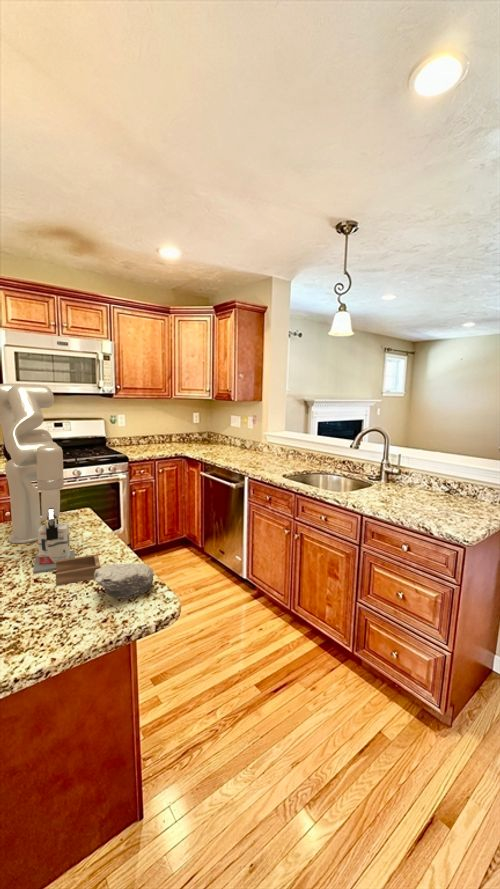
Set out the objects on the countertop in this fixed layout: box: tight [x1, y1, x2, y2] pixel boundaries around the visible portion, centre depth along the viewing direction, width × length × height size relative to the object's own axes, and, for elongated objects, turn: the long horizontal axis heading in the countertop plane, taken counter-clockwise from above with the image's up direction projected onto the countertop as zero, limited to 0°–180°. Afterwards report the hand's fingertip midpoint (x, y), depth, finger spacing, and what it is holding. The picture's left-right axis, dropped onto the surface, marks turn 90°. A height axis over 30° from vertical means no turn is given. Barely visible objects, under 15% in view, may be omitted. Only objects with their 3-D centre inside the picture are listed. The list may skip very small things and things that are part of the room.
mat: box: [32, 549, 76, 575], centre depth 122 cm, size 12×12×1 cm
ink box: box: [37, 522, 71, 565], centre depth 121 cm, size 8×5×12 cm, turn 108°
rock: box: [93, 562, 154, 600], centre depth 103 cm, size 11×17×10 cm, turn 126°
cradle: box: [55, 553, 102, 587], centre depth 114 cm, size 10×12×4 cm
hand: (52, 533), depth 121 cm, fingers open, 9 cm apart
